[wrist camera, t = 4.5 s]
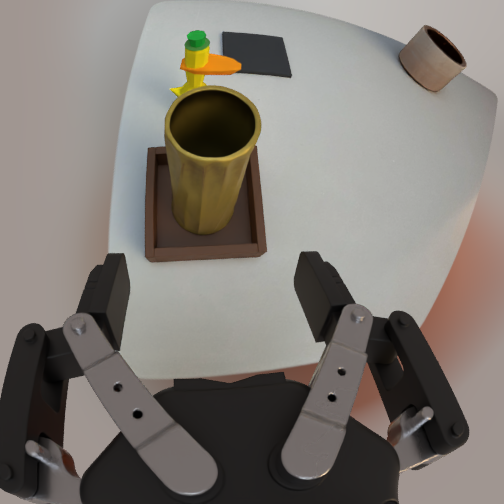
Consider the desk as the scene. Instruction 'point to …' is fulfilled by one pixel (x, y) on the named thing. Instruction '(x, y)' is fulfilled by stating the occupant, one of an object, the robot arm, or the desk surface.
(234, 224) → the tray
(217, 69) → the toy figure
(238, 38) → the mat
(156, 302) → the desk surface
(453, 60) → the planter
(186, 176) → the vase
